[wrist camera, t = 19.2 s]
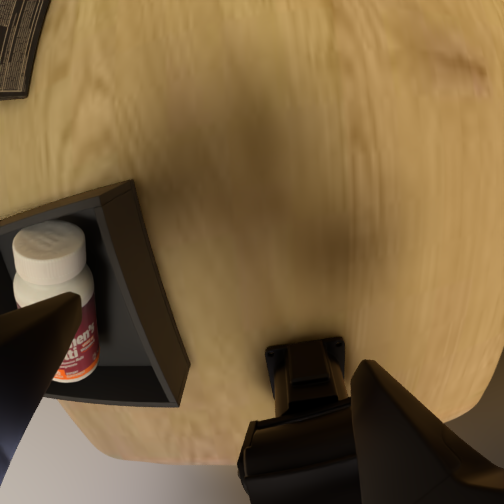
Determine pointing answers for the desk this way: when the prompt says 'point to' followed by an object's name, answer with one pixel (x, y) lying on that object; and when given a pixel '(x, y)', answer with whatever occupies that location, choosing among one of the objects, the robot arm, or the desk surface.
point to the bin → (113, 300)
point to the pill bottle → (59, 285)
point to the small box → (18, 44)
